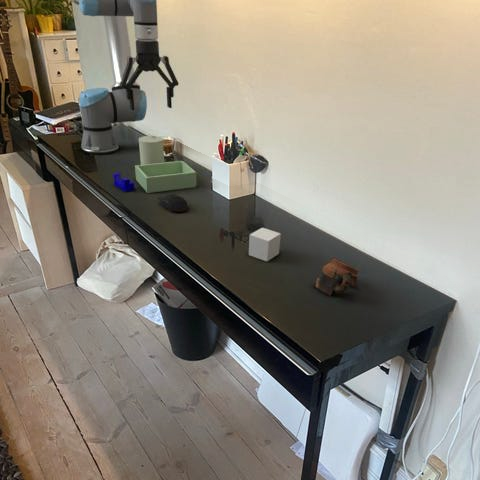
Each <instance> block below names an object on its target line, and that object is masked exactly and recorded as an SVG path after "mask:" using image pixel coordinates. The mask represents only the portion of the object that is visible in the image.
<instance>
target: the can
mask: <svg viewBox="0 0 480 480" xmlns="http://www.w3.org/2000/svg"><path fill="white" fill-rule="evenodd" d="M138 146H139V156H140V157H139V158H140V165H146V164H156V163H165V152H164V149H165V148H164V138H163V137H162V136H158V135H144V136H140V137H139V138H138Z"/></svg>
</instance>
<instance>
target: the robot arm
mask: <svg viewBox="0 0 480 480" xmlns="http://www.w3.org/2000/svg"><path fill="white" fill-rule="evenodd" d="M70 1H71V2H73V4H75V5H78V6H79V9H80V12H81V14H82V15H83V16H89V17H103V21H104V26H105V32H106V39H107V44H108V45H107V46H108V52H109V58H110V64H111V69H112V70H111V71H112V76H113V84H112V85H111V91H109V89H108V88H106V87H93V88H88V89H86V90H83V91H81V92H80V93H79V95H78V96H79V97H78V100H79V107H80V114H81V115H80V116H81V120H82V121H81V122H82V130H83V133H81V132H80V127H81V126H80V123H79V121H78V120H76V119H74V120H72V121H73V122H75V123H76V124H77V133H78V135H80V136H81V137H82V138H81V143H80V144H81V146H80V147H81V151H82V152H83V153H86V154H90V155H108V154H112V153H116V152H117V151H119V149H120V148H119V142H118V140H117V138H116V135H115V133H114V131H113V123H128V122H129V123H131V122H133V123H135V122H140V121H143V120H144V119H145V117H146V114H147V108H148V101H147V94H146V92H145V90H142V89H141V85H140V84H139V83H138V82H137V80H138V78H139V77H140V75H141V74H142V73H143V72H144V73H145V72H147V73H148V72H157V73H158V75H159V76H160V77H161V78H162V80H163V81H164V83H166V85H168V86H166V107H167V108H168V109H172V108H173V105H172V104H173V103H172V98H174V97H175V93H174V92H175V91H174V89H175V87H178V86H179V85H180V84H179V81H178V79H177V77H176V74H175V73H174V71H173V68H172V66H171V64H170V58H169V56H168V55H162V56H160V44H159V41H158V39H159V28H158V27H159V25H158V8H157V7H158V4H157V2H158V1H157V0H70ZM127 17H133V25H134V37H135V39H136V40H135V50H136V51H135V53H136V56H135V57H133V55H132V48H131V43H130V36H129V28H128V22H127V21H128V20H127ZM135 63H136V64H137V66H136V68H134V65H135ZM160 63H162V64H164V68H165V69H166V72H167V73H168V75H166V74H165V72H164V71H163V70H162V68H161V67H160V66H159V64H160ZM134 69H135V70H134ZM168 76H169V77H168Z"/></svg>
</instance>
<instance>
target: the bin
mask: <svg viewBox="0 0 480 480" xmlns="http://www.w3.org/2000/svg"><path fill="white" fill-rule="evenodd" d="M134 170H135V171H134V172H135V181H136V182H137V183H138V184H139V185H140V187H142V189H143V190H144V191H145V192H146V193H147V194H150V193H158V192H166V191H167V192H168V191H174V190H183V189H191V188H197V172H196V171H195V170H194V169H193V168H192V167H191V166H190V165H188V164H187V163H186V162H185V161H183V160H176V161H166V162H165V161H164V163H156V164H146V165H141V164H137V165H134Z"/></svg>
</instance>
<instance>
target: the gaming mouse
mask: <svg viewBox="0 0 480 480" xmlns="http://www.w3.org/2000/svg"><path fill="white" fill-rule="evenodd" d="M159 199H160V204H161V206H162V207H164V208H165V209H167V210H168V211H169V212H173V213H174V212H175V213H177V212H178V213H179V212H184V211H187V210H188V209H189V205H188V202H187V200H186V199H185V198H184V197H182V196H180V195H178V194H174V193H166V195H165V196H164V197H159Z"/></svg>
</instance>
